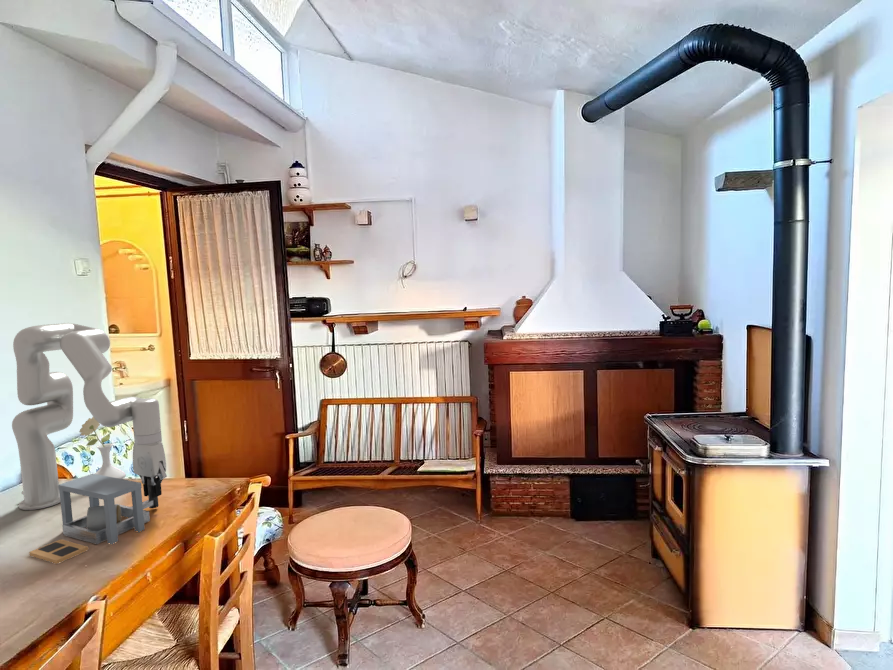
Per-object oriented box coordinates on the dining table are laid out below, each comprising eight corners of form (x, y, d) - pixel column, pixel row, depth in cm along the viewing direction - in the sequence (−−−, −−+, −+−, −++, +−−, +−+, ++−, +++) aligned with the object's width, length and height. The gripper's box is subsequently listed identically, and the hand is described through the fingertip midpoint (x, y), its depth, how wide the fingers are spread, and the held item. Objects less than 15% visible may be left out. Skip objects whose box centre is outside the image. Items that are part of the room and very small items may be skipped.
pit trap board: (29, 555, 148) (29, 551, 148) (61, 542, 155) (60, 538, 155) (56, 564, 143) (56, 560, 143) (88, 550, 150) (87, 546, 150)
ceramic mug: (121, 532, 160) (118, 506, 160) (87, 539, 157) (84, 512, 156) (123, 519, 170) (121, 495, 169) (91, 525, 166) (89, 500, 166)
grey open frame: (63, 535, 159) (59, 499, 158) (142, 503, 181) (139, 471, 180) (96, 544, 152) (93, 507, 151) (174, 510, 174) (171, 477, 173)
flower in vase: (117, 475, 211) (111, 409, 208) (132, 480, 204) (126, 413, 202) (78, 486, 200) (72, 417, 198) (93, 492, 193) (86, 421, 191)
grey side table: (62, 531, 162) (58, 484, 161) (97, 518, 171) (92, 473, 170) (111, 544, 153) (107, 495, 151) (145, 529, 162) (141, 482, 160)
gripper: (119, 439, 174) (124, 496, 176) (154, 444, 167) (159, 503, 169) (142, 433, 181) (146, 488, 183) (176, 437, 174) (181, 494, 176)
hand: (152, 495), depth 176 cm, fingers closed on grey open frame, 2 cm apart
